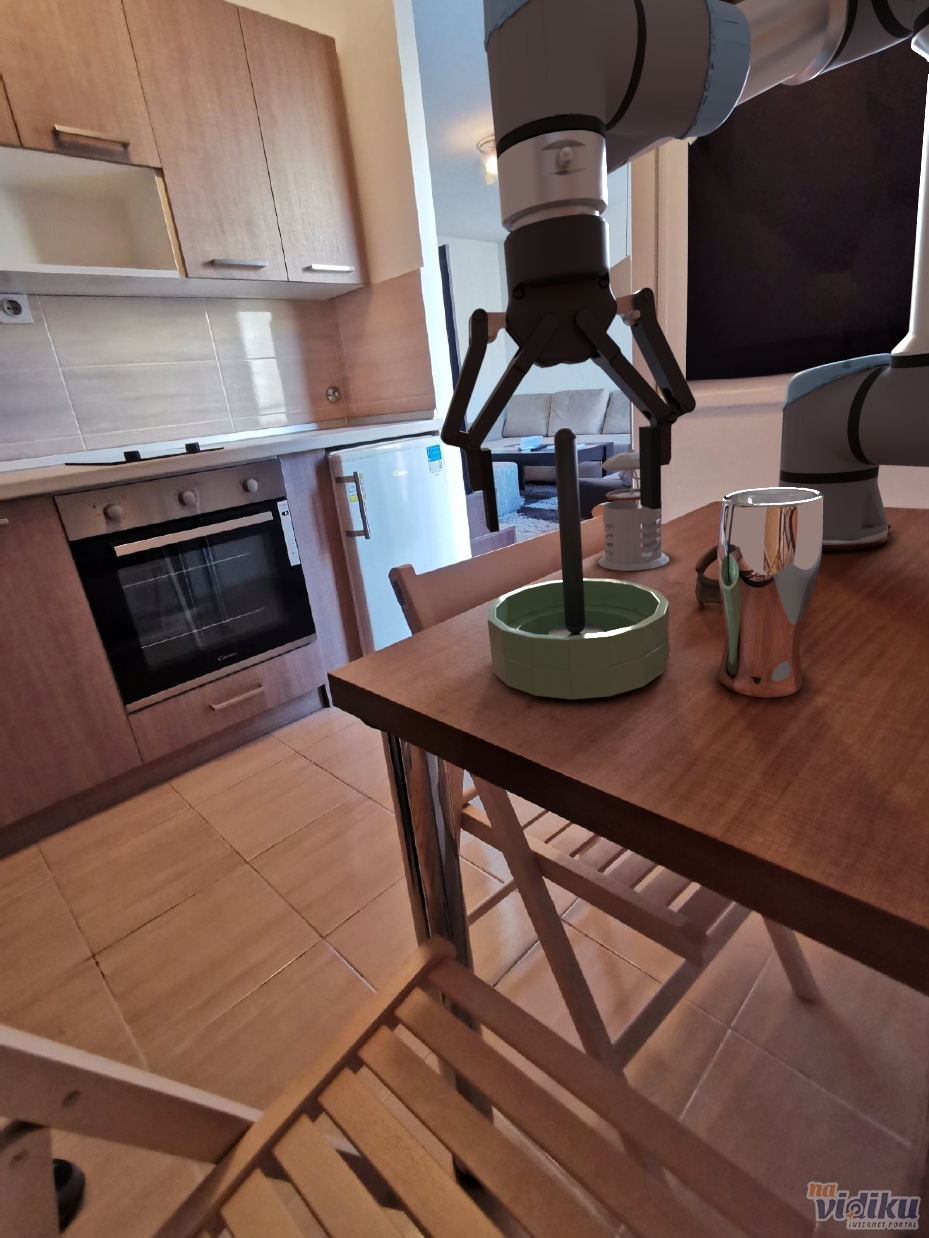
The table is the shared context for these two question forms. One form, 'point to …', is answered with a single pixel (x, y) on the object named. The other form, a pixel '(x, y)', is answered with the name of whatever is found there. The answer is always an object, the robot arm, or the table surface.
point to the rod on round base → (570, 536)
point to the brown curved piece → (707, 580)
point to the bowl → (580, 639)
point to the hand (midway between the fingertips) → (572, 518)
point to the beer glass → (767, 585)
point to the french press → (630, 522)
